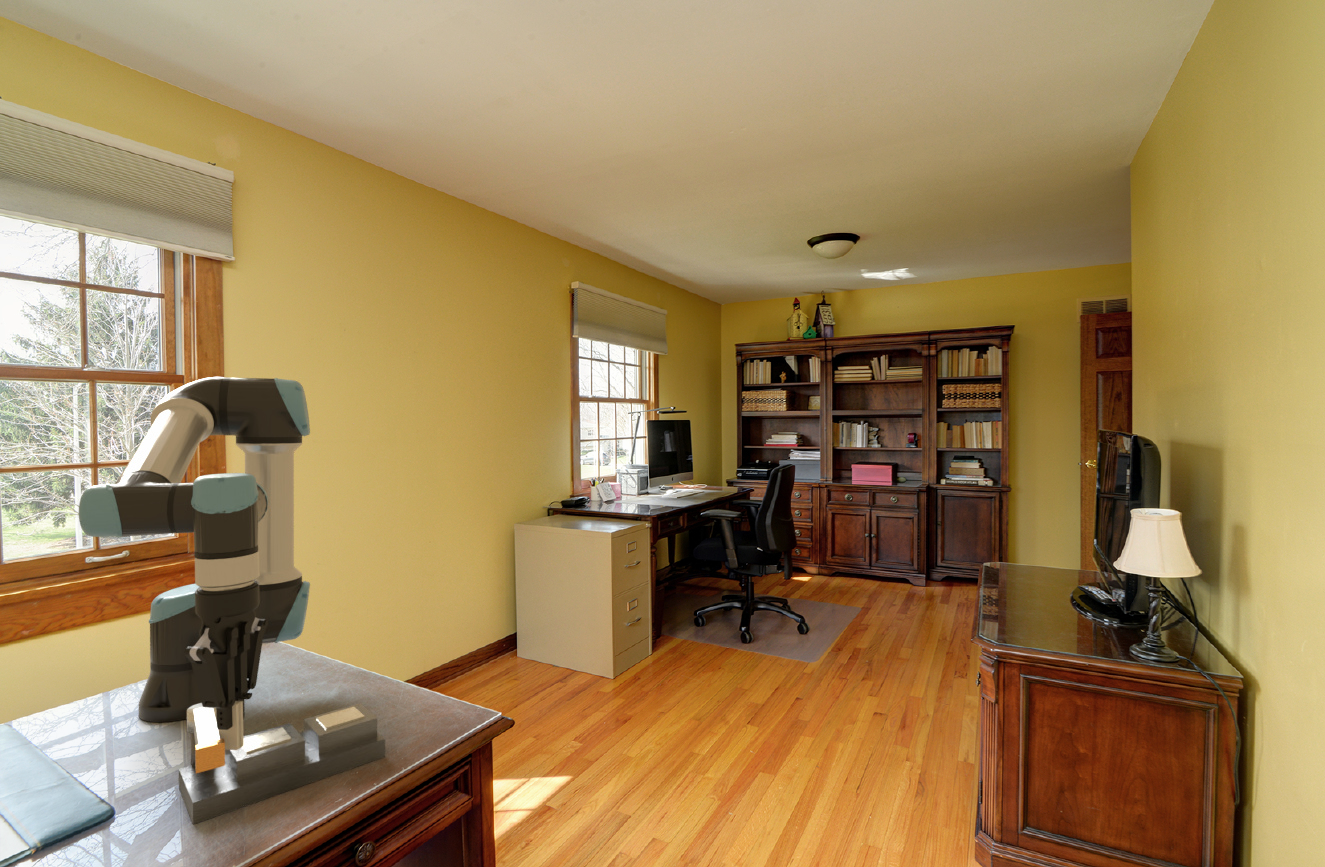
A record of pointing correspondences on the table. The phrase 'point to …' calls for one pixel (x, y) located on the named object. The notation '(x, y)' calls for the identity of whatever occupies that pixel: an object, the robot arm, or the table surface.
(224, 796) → the grey stepped block base
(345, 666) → the table surface
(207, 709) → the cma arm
